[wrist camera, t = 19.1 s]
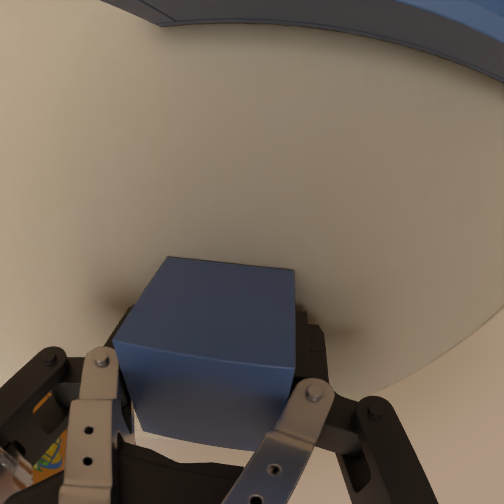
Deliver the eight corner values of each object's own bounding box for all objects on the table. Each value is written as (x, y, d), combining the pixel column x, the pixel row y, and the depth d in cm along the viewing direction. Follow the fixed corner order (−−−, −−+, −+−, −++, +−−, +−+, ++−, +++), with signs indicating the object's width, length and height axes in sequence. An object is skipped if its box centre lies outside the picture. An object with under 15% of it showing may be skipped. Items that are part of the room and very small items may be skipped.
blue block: (294, 269, 12) (295, 368, 8) (279, 361, 14) (273, 453, 10) (167, 256, 12) (111, 339, 8) (175, 347, 15) (142, 431, 10)
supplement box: (106, 385, 17) (43, 516, 8) (96, 405, 19) (43, 517, 10) (62, 356, 17) (-13, 478, 8) (58, 379, 18) (-4, 487, 9)
